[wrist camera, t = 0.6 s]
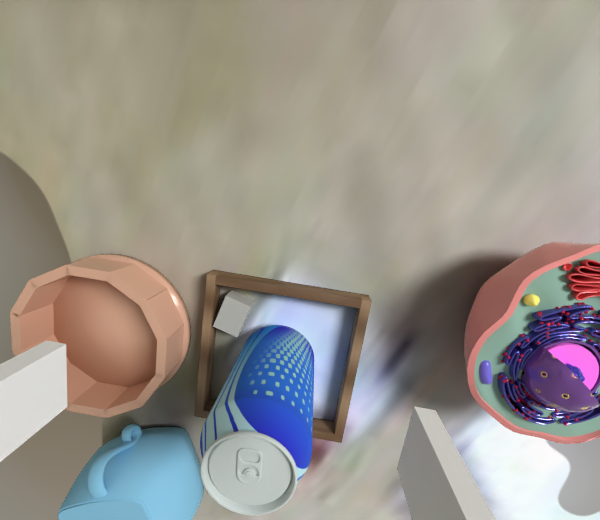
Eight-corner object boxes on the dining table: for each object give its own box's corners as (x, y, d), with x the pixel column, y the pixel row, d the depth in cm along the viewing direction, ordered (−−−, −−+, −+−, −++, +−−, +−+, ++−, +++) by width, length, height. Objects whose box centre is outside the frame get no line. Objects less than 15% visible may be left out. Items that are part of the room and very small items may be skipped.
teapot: (144, 522, 42) (80, 640, 30) (100, 414, 38) (10, 502, 27) (225, 511, 40) (190, 631, 29) (187, 399, 37) (130, 484, 26)
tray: (213, 269, 33) (206, 274, 31) (368, 295, 33) (371, 301, 31) (200, 404, 37) (194, 416, 35) (340, 429, 36) (341, 442, 34)
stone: (232, 289, 34) (225, 295, 32) (255, 299, 34) (250, 307, 32) (220, 318, 35) (212, 326, 32) (242, 328, 35) (237, 337, 32)
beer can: (328, 354, 34) (337, 480, 19) (280, 396, 36) (252, 546, 20) (278, 306, 34) (243, 397, 18) (231, 351, 35) (161, 472, 20)
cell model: (648, 313, 31) (829, 375, 20) (487, 412, 35) (566, 511, 24) (562, 192, 29) (710, 186, 18) (401, 309, 33) (444, 363, 22)
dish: (47, 242, 34) (1, 249, 29) (196, 267, 33) (175, 278, 28) (51, 378, 38) (11, 404, 33) (185, 402, 37) (165, 432, 32)
